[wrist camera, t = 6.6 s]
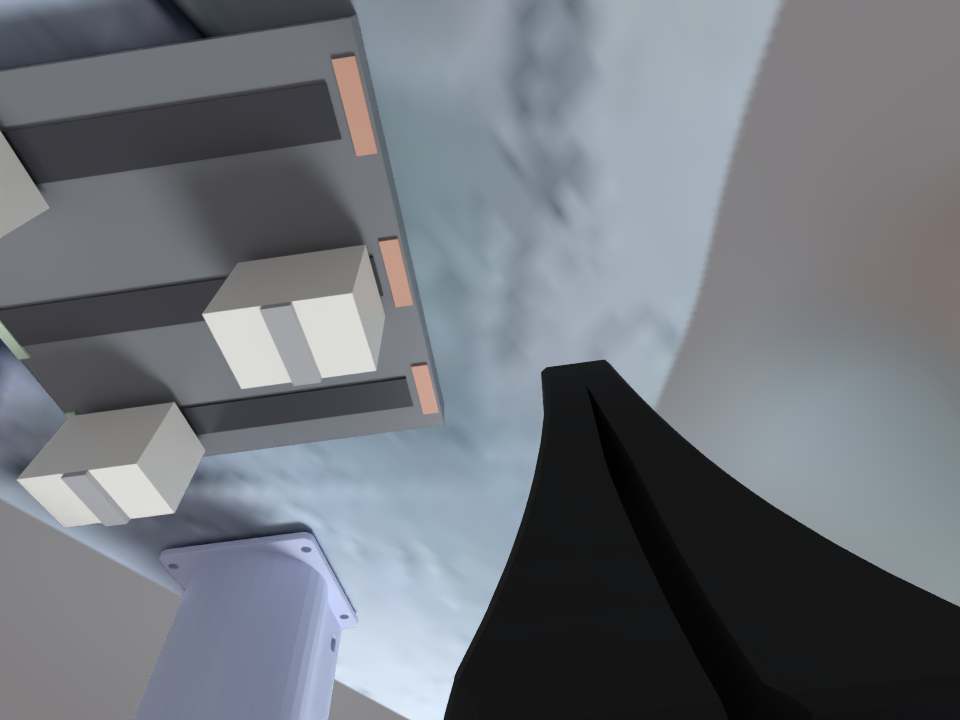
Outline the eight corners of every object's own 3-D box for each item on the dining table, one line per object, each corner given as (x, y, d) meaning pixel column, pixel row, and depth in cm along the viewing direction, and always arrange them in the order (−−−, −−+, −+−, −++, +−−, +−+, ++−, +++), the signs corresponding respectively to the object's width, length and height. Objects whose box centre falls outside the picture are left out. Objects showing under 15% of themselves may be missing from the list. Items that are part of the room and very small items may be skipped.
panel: (444, 405, 22) (444, 426, 21) (124, 447, 23) (109, 470, 21) (356, 14, 14) (349, 17, 13) (-151, 92, 14) (-198, 102, 13)
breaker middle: (385, 316, 17) (375, 374, 15) (268, 332, 18) (239, 393, 15) (365, 244, 16) (350, 296, 13) (237, 262, 16) (198, 318, 13)
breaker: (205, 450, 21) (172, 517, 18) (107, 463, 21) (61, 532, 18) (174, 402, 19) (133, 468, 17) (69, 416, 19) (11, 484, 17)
